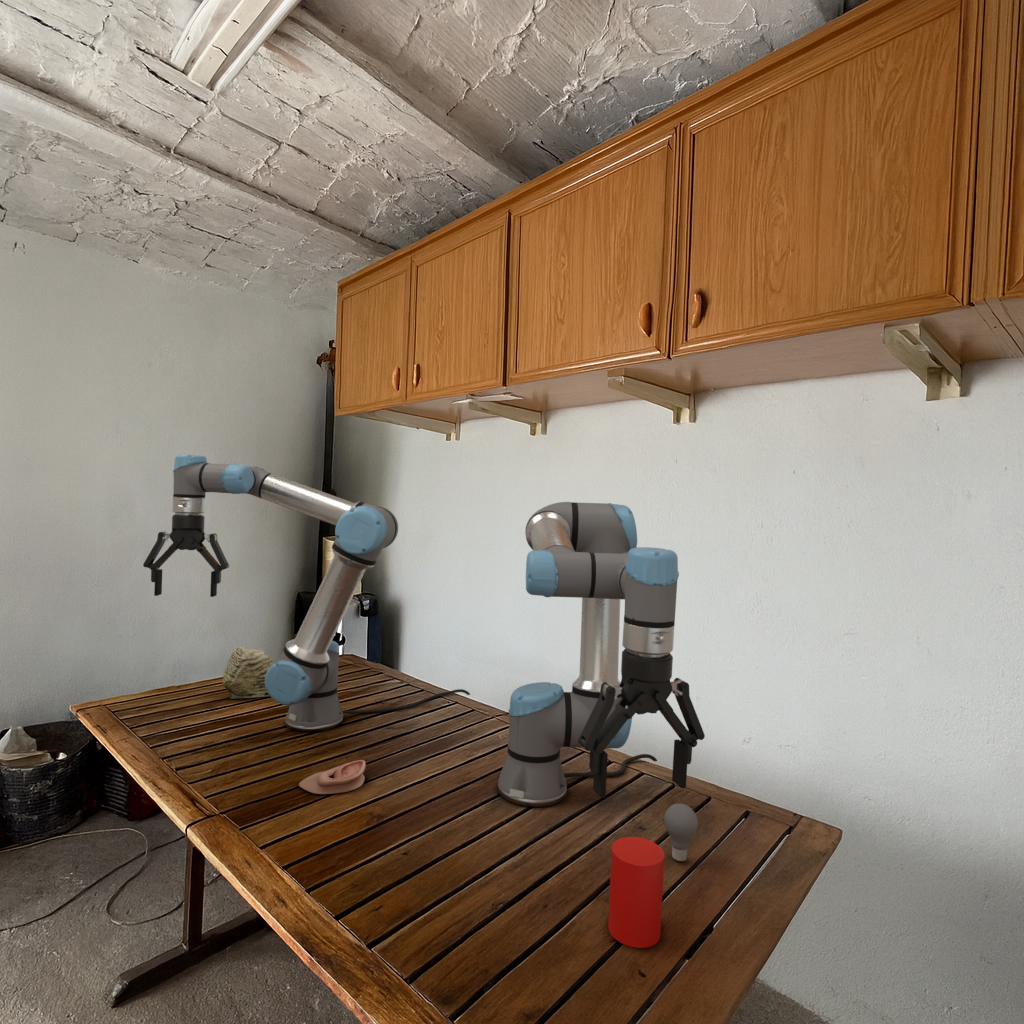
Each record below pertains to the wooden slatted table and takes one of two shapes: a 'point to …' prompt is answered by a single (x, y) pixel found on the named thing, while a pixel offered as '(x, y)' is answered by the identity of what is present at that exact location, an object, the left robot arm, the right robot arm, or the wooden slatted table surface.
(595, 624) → the right robot arm
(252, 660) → the fossil
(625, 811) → the wooden slatted table surface
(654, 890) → the tin
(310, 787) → the anatomical model
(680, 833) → the light bulb
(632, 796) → the wooden slatted table surface
